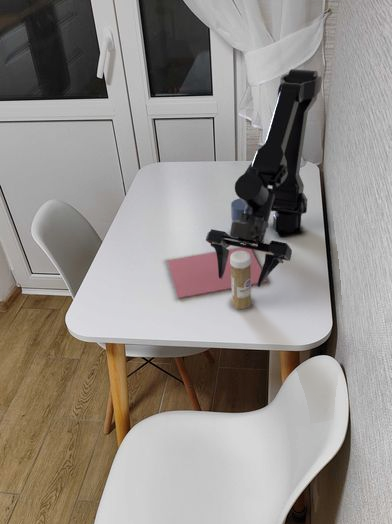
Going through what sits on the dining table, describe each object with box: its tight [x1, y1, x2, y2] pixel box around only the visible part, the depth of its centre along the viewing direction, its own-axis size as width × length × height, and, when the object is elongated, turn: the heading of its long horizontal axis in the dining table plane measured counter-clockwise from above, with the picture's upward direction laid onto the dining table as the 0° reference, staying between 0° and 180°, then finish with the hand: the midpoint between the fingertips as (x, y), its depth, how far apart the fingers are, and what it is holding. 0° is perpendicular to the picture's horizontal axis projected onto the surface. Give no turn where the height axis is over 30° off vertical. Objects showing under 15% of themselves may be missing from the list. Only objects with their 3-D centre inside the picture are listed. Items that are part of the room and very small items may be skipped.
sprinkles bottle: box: [230, 250, 252, 310], centre depth 120 cm, size 5×5×13 cm
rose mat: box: [167, 247, 268, 300], centre depth 135 cm, size 22×16×1 cm
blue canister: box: [230, 198, 246, 238], centre depth 143 cm, size 6×6×9 cm
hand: (239, 282), depth 119 cm, fingers open, 9 cm apart
